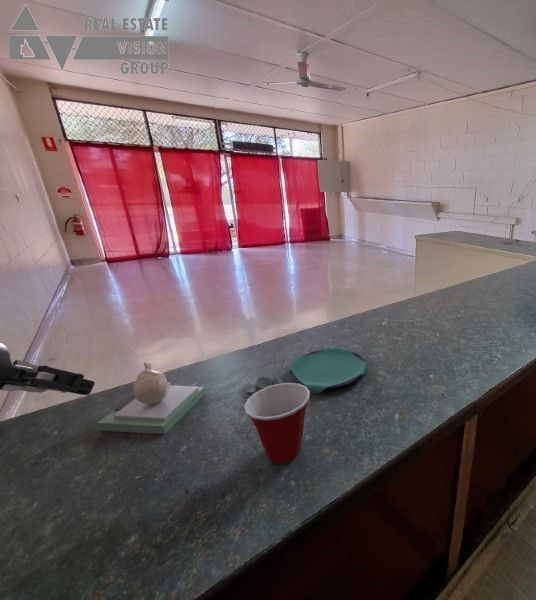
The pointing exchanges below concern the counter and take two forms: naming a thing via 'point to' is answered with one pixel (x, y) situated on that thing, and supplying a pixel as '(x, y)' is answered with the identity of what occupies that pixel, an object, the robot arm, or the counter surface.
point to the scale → (153, 412)
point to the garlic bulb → (151, 386)
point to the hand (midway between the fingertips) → (64, 387)
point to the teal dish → (321, 370)
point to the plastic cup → (279, 419)
